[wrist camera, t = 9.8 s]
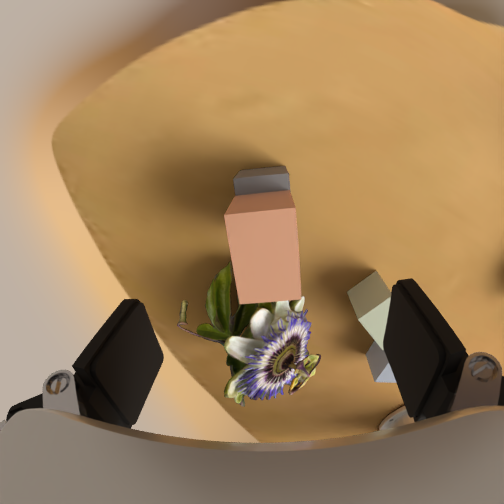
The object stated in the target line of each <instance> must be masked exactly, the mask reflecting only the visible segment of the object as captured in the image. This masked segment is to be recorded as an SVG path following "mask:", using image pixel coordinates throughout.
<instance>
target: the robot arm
mask: <svg viewBox="0 0 504 504" xmlns="http://www.w3.org/2000/svg"><path fill="white" fill-rule="evenodd" d="M383 349H384V352H385V354H386V357H387V359H388V362H389V364H390V367H391V369H392V372H393V375H394V377H395V380H396V382H397V385H398V388H399V390H400V393H401V396H402V399H403V402H404V404H405V406H403V407H401V408H399V409H397V410H396V411H394V412H392V413H391V414H390V415H388V416H387V417H386V418H385V419H384V420H383V421H382V422H381V424H380V426H379V431H375V432H370V433H365V434H359V435H353V436H347V437H340V438H332V439H324V440H313V441H301V442H282V443H237V442H219V441H206V440H196V439H187V438H180V437H173V436H166V435H160V434H154V433H149V432H144V431H139V430H134V429H131V427H132V425H134V424H135V423H136V422H137V419H138V417H139V415H140V412H141V410H142V408H143V406H144V403H145V401H146V399H147V396H148V394H149V392H150V390H151V387H152V385H153V383H154V380H155V378H156V376H157V374H158V372H159V369H160V367H161V365H162V363H163V358H164V357H163V352H162V350H161V347H160V345H159V343H158V340H157V338H156V335H155V333H154V330H153V328H152V325H151V322H150V320H149V317H148V314H147V312H146V309H145V306H144V304H143V303H140V301H139V300H138V299H124V300H123V301H122V302H121V303H120V305H119V306H118V307H117V308H116V310H115V311H114V312H113V313H112V314H111V316H110V317H109V318H108V319H107V321H106V322H105V323H104V325H103V326H102V327H101V328H100V330H99V331H98V332H97V333H96V335H95V336H94V337H93V339H92V340H91V341H90V343H89V344H88V345H87V346H86V348H85V349H84V350H83V352H82V353H81V354H80V356H79V357H78V358H77V360H76V361H75V363H74V364H73V365H72V367H73V368H74V370H75V371H76V372H75V374H74V375H73V374H72V373H71V372H70V371H68V370H59V371H56V372H55V373H52V374H51V375H50V376H49V377H48V378H47V379H46V380H45V382H44V384H43V393H42V394H40V395H38V396H35V397H33V398H30V399H28V400H26V401H23V402H21V403H18V404H16V405H14V406H12V407H11V408H10V410H9V412H8V415H7V419H6V421H7V422H6V421H5V420H3V421H2V422H0V504H504V376H502V367H501V365H500V363H499V361H498V360H497V359H496V358H495V357H493V356H492V355H490V354H488V353H484V352H476V353H473V354H471V355H470V356H468V354H467V353H466V349H465V347H464V346H463V344H462V343H461V341H460V340H459V338H458V337H457V335H456V334H455V333H454V331H453V330H452V328H451V327H450V326H449V324H448V323H447V322H446V320H445V319H444V317H443V316H442V315H441V313H440V312H439V311H438V309H437V308H436V307H435V306H434V304H433V303H432V302H431V300H430V299H429V298H428V297H427V295H426V294H425V293H424V292H423V290H422V289H421V288H420V287H419V285H418V284H417V283H416V282H415V281H414V280H413V279H404V280H398V281H397V283H396V285H393V287H392V292H391V299H390V306H389V312H388V318H387V324H386V329H385V334H384V339H383Z"/></svg>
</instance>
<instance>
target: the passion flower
mask: <svg viewBox="0 0 504 504" xmlns="http://www.w3.org/2000/svg"><path fill="white" fill-rule="evenodd" d="M231 265H232V264H231V261H230V262H229V264H228V265H227V266H226V267H225V268H223V269H222V270H220V272H219V273H218V274H216V276H215V278H214V279H213V281H212V283H211V286H210V288H209V290H208V292H207V298H206V304H205V307H206V310H207V313H208V316H209V318H210V320H211V323H212V325H213V326H212V325H211V324H207V323H204V324H200V325H199V326H198V328H197V334H196V333H193V332H191V331H189V330H187V329H184V328H182V327H181V326H180V325H187V324H188V323H187V322H186V310H187V306H188V302H187V301H186V300H183V301H182V303H181V310H180V320H179V322H178V325H177V326H178V327H179V328H181V329H182V330H184V331H187V332H189V333H191V334H193V335H196V336H199V337H202V338H204V339H207V340H211V341H214V342H218V343H221V344H222V345H223V346H224V348H225V350H226V352H227V353H228V356H227V361H226V364H227V365H228V366H230V370H231V376H232V378H231V379H230V380H229V381H228V383H227V385H226V387H225V390H224V393H225V395H224V397H228V398H233V397H234V399H235V402H236V403H238V404H240V405H241V406H244V407H245V402H244V399H243V398H244V396H245V395H248V397H250V399H253V400H257V399H258V398H260V399H261V400H263V398H264V396H266V399H267V400H269V399H270V398H271V396H274V398H276V394H277V393H281V394H282V395H283V387H284V386H283V385H284V384H287V385H290V387H289V388H290V389H289V391H288V392H289V394H290V395H292V394H293V393H294V392H296V391H297V390H298V389H300V388H302V387H303V386H304V385H305V384H306V382H307V380H308V379H309V378H310V377H311V376H313V375H314V374H315V371H316V366H317V365H318V363H319V362H320V359H321V355H319V354H316V355H314V354H311V355H309V352H308V350H307V348H306V347H307V345H306V344H307V343H308V341H307V340H308V339H309V338H310V333H311V332H309V331H308V330H309V328H310V327H311V322H308V321H307V319H306V317H305V315H306V313H307V311H308V310H307V309H306V311H305V312H304V313H303V311H302V309H303V306H304V298H305V297H304V296H301V299H299V300H291V301H290V302H289V300H288V301H277V302H264V303H250V304H240V303H239V298H238V295H237V301H238V304H239V306H238V309H237V312H236V313H235V314H234V315H233V316H232V317H231V315H232V313H231V295H230V292H231V290H230V285H231V282H232V269H231ZM248 324H249V325H248ZM247 325H248V327H247ZM245 327H247V329H246V330H245V331H244V333H243V335H242V336H241V337H240V335H241V333H242V332H243V330H244V328H245ZM307 361H308V363H307V364H306V365H305V363H306V362H307Z"/></svg>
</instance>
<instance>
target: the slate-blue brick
mask: <svg viewBox="0 0 504 504" xmlns="http://www.w3.org/2000/svg"><path fill="white" fill-rule="evenodd" d="M366 357H367V360H368V363H369V366H370V369H371V372H372V375H373V378H374V381H375V382H394V383H397V382H396V380H395V377H394V375H393V372H392V369H391V367H390V364H389V362H388V359H387V357H386V354H385V352H384V350H382V349H381V348H380V346H379V345H378V344H377V342H376V341H375V340H374V342H373V344H372V345H371V347H370V348H369V350H368V352H367V353H366Z"/></svg>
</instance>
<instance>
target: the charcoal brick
mask: <svg viewBox="0 0 504 504" xmlns="http://www.w3.org/2000/svg"><path fill="white" fill-rule="evenodd" d="M233 181H234V189H235V196H238V195H246V194H255V193H265V192H274V191H285V190H290V182H289V173H288V171H287V169H286V167H285V166H277V167H266V168H256V169H247V170H240V171H239V172H238V174H237V175H236V176H235V177H234V178H233Z"/></svg>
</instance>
